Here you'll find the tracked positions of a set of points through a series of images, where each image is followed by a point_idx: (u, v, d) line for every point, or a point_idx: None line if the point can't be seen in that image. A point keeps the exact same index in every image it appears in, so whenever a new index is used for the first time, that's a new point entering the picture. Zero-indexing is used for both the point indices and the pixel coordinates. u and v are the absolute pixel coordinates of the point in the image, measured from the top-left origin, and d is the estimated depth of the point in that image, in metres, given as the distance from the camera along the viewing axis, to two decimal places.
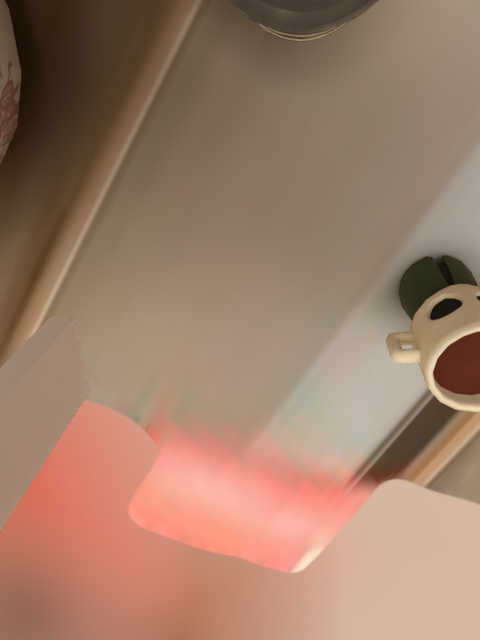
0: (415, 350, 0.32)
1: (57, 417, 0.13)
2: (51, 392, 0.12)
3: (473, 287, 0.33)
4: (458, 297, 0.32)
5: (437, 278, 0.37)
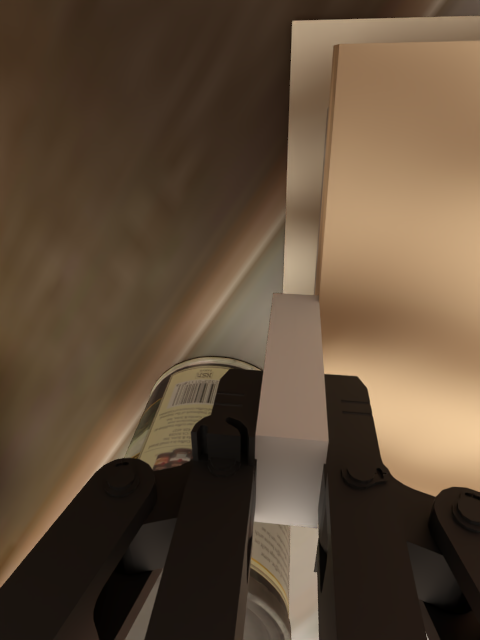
0: None
1: None
2: None
3: None
4: None
5: None
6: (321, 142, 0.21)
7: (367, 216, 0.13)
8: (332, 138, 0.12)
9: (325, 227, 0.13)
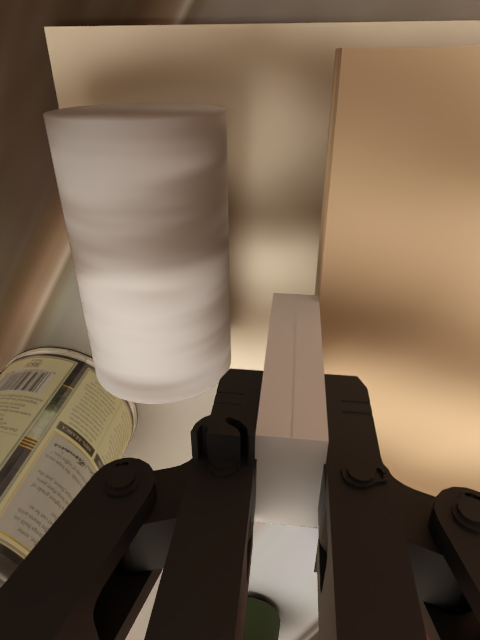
0: None
1: None
2: None
3: None
4: None
5: None
6: None
7: (368, 219, 0.13)
8: (334, 141, 0.12)
9: (326, 230, 0.13)
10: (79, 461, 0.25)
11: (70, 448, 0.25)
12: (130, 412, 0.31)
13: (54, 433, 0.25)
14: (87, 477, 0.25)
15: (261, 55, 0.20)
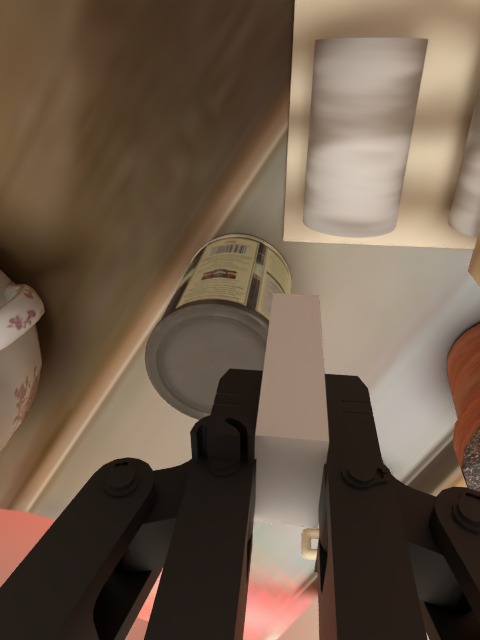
0: None
1: None
2: None
3: None
4: None
5: None
6: (312, 69, 0.33)
7: None
8: None
9: None
10: None
11: (277, 287, 0.36)
12: (290, 285, 0.43)
13: (266, 276, 0.36)
14: None
15: (437, 9, 0.31)
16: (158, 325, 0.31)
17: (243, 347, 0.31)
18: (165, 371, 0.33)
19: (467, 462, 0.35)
